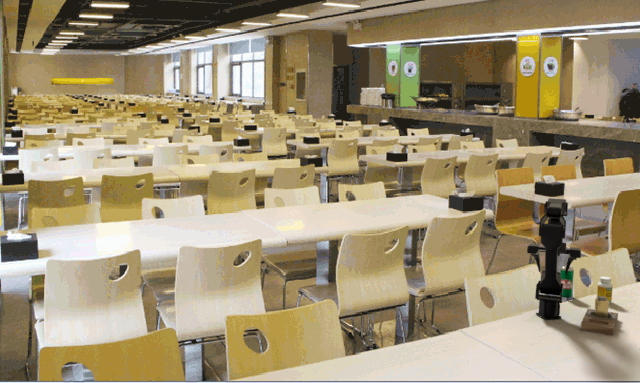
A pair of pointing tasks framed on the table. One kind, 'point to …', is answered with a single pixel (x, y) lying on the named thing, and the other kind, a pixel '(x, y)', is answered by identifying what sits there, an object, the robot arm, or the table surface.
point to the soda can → (567, 281)
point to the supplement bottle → (605, 288)
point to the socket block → (599, 323)
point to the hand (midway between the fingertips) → (552, 273)
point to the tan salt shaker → (601, 307)
